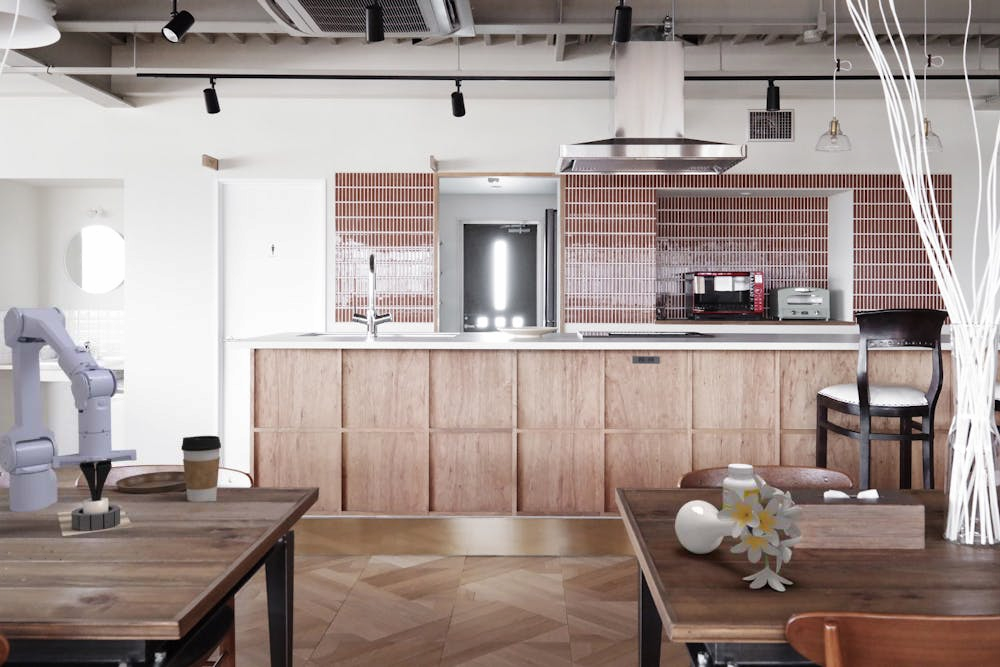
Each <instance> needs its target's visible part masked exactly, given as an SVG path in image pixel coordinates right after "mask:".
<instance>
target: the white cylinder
mask: <svg viewBox="0 0 1000 667" xmlns="http://www.w3.org/2000/svg"><path fill="white" fill-rule="evenodd" d="M108 505H109V498H108V497H102V496H101V501H92V498H91V497H90V498H87V499H86V498H85V499H84V500H82V507H83V514H96V513H103V512H107V511H108Z"/></svg>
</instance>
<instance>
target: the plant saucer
mask: <svg viewBox="0 0 1000 667" xmlns="http://www.w3.org/2000/svg"><path fill="white" fill-rule="evenodd" d="M115 486H116V487H117V488H118V490H119V491H120V492H121V493H128V494H156V493H157V494H158V493H181V492H183V491H185V490H187V488H186V481H185V472H184V471H178V470H177V471H174V470H172V471H171V470H170V471H159V472H158V471H156V472H147V473H141V474H135V475H131V476H130V475H129V476H126V477H123V478H120V479H118V480H117V481H115Z"/></svg>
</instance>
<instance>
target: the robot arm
mask: <svg viewBox="0 0 1000 667" xmlns="http://www.w3.org/2000/svg"><path fill="white" fill-rule="evenodd" d="M66 324H67V323H66V316H65V314H64V312H63V311H62V310H61V309H60V308H59V307H57V306H55V307H15V306H12V307H10V308H9V309H8V311H6V314H5V315H4V318H3V333H4V334H3V337H4V345H5V346H6V347H8V348H11V361H12V362H11V363H12V365H11V366H12V369H11V370H12V385H13V386H12V387H13V389H12V390H13V407H14V408H13V410H14V425H13V426H12V427H11V428H10V429H9V430H8V431H6V432H4V434H3V435H1V436H0V467H1V468H2V469H3V470H4V472H5V473H8V480H9V482H8V484H9V488H8V489H9V492H8V493H9V511H11V512H17V513H18V512H19V513H21V512H22V513H23V512H24V513H25V512H34V511H38V510H39V511H40V510H42V509H46V508H49V506H51V505H52V504H55V503H57V502H58V476H57V474H56V472H55V471H54V469H57V468H61V467H73V466H79V468H80V471H81V472H82V474H83V476H84V478H85V480H86V482H87V485H88V488H89V491H90V496H91V497H90V498H92V501H101V497H102V494H103V489H104V486H105V483H106V480H107V478H108V476H109V475H110V472H111V470H112V467H113V465H112V463H117V462H125V461H126V462H127V461H128V462H129V461H137V450H136V449H124V450H123V449H122V450H121V449H120V450H118V449H117V450H112V404H111V403H112V402H111V401H112V399H111V398H113V397H114V396H115V395H116V393H117V389H118V388H117V387H118V382H117V376H116V375H115V373H114V371H113V370H112V368H105V367H104V366H100V365H99V364H98V362H97V361H96V360H95V359H94V358H93V356H92V355H91V354H90V353H89V351H88V350H87V349H86V348H85V347H84V346H80V345H77V344H75V342H74V340H73V339H72V337H71V335H70V334H69V333H68V330H67V329H66ZM44 346H49V347H50V348H51V349H52V350H53V351H54V352H55V353H56V354H57V355H58V358H57V364H58V366H59V367H60V369H61V370H62V371H63V373H64V374H65V376H67V378H68V379H69V381H71V384H70V391H71V394H72V396H73V400H74V406H75V409H77V422H78V423H77V424H78V428H77V429H78V453H71V454H66V455H65V454H64V455H59V448H58V445H57V442H56V439H55V436H56V435H55V432H54V430H52V429H50V428H49V427H47V426H46V425H44V424H43V417H42V416H43V415H42V414H43V413H42V411H43V410H42V394H41V393H42V391H41V373H40V372H41V370H40V368H41V367H40V351H42V349H43V347H44ZM52 468H53V469H52Z"/></svg>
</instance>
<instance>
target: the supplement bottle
mask: <svg viewBox="0 0 1000 667" xmlns="http://www.w3.org/2000/svg"><path fill="white" fill-rule="evenodd" d="M727 471H728V476H727V477H726V478H724V480H723V482H722V510H723V509H727V508H732V509H734V508H733V507H732V506H731V505H730V503H729V501H728V497H727V493H728V491H729V490H734V491H735V492H736V493H737V494H738V495H739V496H740V498H741V500H742V501H743V502H744V500H745V498H746V497H747V496H748V495H750V494H752V493H754V494H756V496H757V503H759V489H758V487H757V484H756V482H755V480H754V478H753V477H752V475H751V473H752V474H753V475H754V466H753V465H750V464H746V463H730V464H728V465H727ZM750 472H751V473H750Z"/></svg>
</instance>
